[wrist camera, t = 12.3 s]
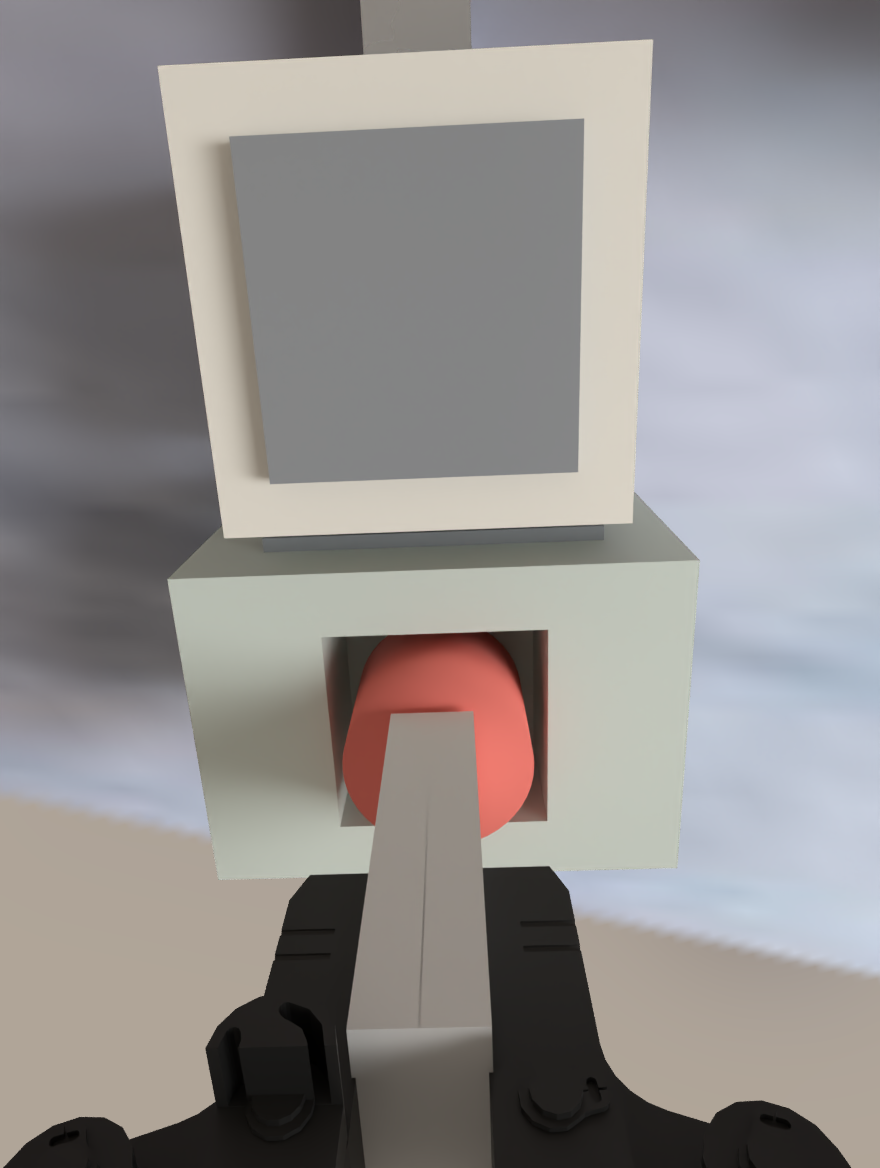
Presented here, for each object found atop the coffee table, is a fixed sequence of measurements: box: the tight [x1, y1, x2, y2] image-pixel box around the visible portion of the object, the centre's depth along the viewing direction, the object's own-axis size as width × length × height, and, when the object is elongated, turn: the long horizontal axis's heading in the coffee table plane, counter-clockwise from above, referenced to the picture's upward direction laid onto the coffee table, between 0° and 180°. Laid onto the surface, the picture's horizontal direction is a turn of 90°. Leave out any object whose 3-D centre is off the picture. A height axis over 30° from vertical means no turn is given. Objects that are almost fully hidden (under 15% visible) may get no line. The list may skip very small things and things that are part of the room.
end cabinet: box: [167, 492, 700, 880], centre depth 20 cm, size 7×10×9 cm
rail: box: [360, 0, 471, 55], centre depth 19 cm, size 20×2×2 cm, turn 2°
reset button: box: [342, 632, 534, 839], centre depth 16 cm, size 4×4×3 cm
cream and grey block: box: [158, 39, 653, 538], centre depth 16 cm, size 7×7×9 cm
